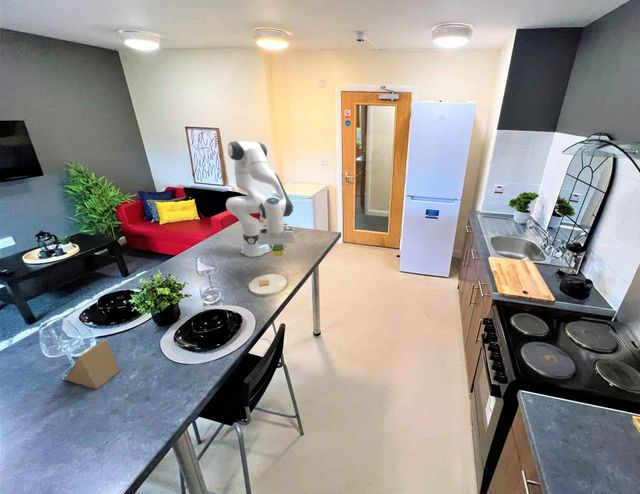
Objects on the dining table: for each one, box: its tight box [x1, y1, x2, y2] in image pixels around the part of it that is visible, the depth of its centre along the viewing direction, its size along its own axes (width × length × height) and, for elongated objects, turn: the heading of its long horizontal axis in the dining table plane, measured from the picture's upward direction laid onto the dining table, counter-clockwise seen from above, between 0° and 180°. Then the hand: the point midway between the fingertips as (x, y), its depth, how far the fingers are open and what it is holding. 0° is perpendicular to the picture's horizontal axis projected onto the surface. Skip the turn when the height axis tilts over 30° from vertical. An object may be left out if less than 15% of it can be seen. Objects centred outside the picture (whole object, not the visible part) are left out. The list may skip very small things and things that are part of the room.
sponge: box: [272, 244, 285, 257], centre depth 164 cm, size 8×5×4 cm, turn 8°
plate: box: [248, 273, 288, 295], centre depth 159 cm, size 20×20×2 cm
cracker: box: [260, 280, 269, 286], centre depth 158 cm, size 4×4×1 cm
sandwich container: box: [64, 338, 121, 390], centre depth 101 cm, size 9×15×15 cm, turn 76°
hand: (278, 250), depth 165 cm, fingers closed on sponge, 5 cm apart
